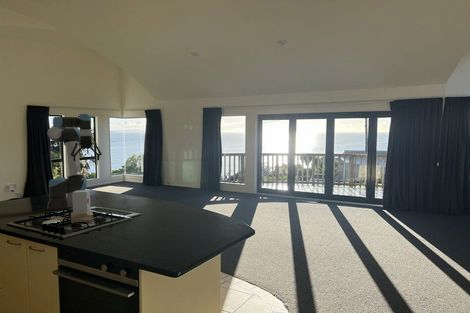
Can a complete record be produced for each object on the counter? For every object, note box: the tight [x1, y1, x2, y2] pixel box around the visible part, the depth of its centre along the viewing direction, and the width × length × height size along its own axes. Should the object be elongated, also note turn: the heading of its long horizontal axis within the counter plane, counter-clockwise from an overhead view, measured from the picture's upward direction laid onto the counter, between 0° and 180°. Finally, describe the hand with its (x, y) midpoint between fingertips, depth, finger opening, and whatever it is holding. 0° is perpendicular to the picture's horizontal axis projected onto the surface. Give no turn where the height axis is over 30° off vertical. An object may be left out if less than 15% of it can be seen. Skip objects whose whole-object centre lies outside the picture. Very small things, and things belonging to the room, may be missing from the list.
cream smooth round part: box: [42, 219, 61, 225], centre depth 216 cm, size 10×10×1 cm
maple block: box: [70, 210, 94, 224], centre depth 223 cm, size 13×13×5 cm
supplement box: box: [71, 189, 92, 215], centre depth 223 cm, size 9×9×15 cm
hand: (86, 165), depth 241 cm, fingers open, 13 cm apart
